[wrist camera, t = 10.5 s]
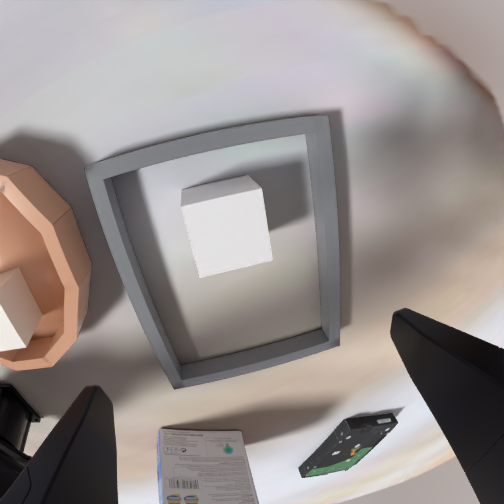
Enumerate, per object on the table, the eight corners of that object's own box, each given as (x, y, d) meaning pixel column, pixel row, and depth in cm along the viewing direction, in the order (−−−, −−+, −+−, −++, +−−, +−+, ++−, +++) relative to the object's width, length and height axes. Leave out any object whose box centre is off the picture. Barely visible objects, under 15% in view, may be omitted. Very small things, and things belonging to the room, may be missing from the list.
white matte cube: (43, 315, 20) (26, 347, 16) (8, 322, 19) (-10, 352, 16) (18, 267, 18) (-5, 295, 14) (-16, 279, 17) (-39, 305, 14)
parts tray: (331, 333, 27) (339, 345, 26) (173, 374, 26) (174, 389, 24) (316, 115, 19) (328, 115, 17) (92, 164, 17) (84, 168, 16)
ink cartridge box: (156, 448, 31) (164, 551, 18) (156, 426, 29) (164, 544, 16) (232, 450, 33) (256, 546, 21) (242, 428, 31) (271, 537, 19)
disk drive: (340, 415, 36) (296, 466, 41) (348, 430, 33) (301, 479, 38) (391, 409, 39) (345, 459, 44) (399, 422, 37) (350, 471, 42)
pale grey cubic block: (257, 235, 22) (272, 260, 18) (196, 249, 21) (199, 277, 18) (247, 174, 20) (261, 188, 16) (181, 189, 19) (180, 206, 16)
